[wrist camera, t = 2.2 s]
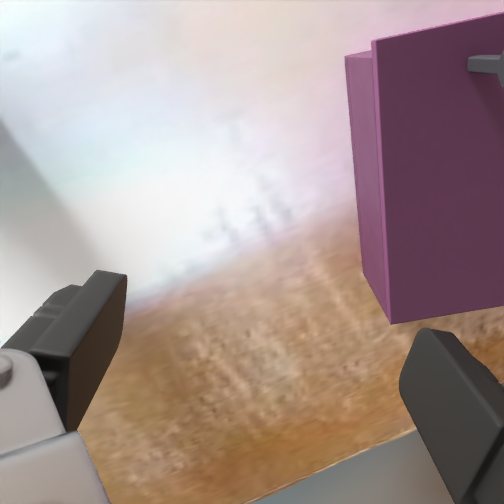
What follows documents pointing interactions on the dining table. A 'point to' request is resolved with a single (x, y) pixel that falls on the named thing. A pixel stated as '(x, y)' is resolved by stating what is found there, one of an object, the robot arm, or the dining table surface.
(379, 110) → the purple box lid
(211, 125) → the dining table surface
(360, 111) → the purple open box
